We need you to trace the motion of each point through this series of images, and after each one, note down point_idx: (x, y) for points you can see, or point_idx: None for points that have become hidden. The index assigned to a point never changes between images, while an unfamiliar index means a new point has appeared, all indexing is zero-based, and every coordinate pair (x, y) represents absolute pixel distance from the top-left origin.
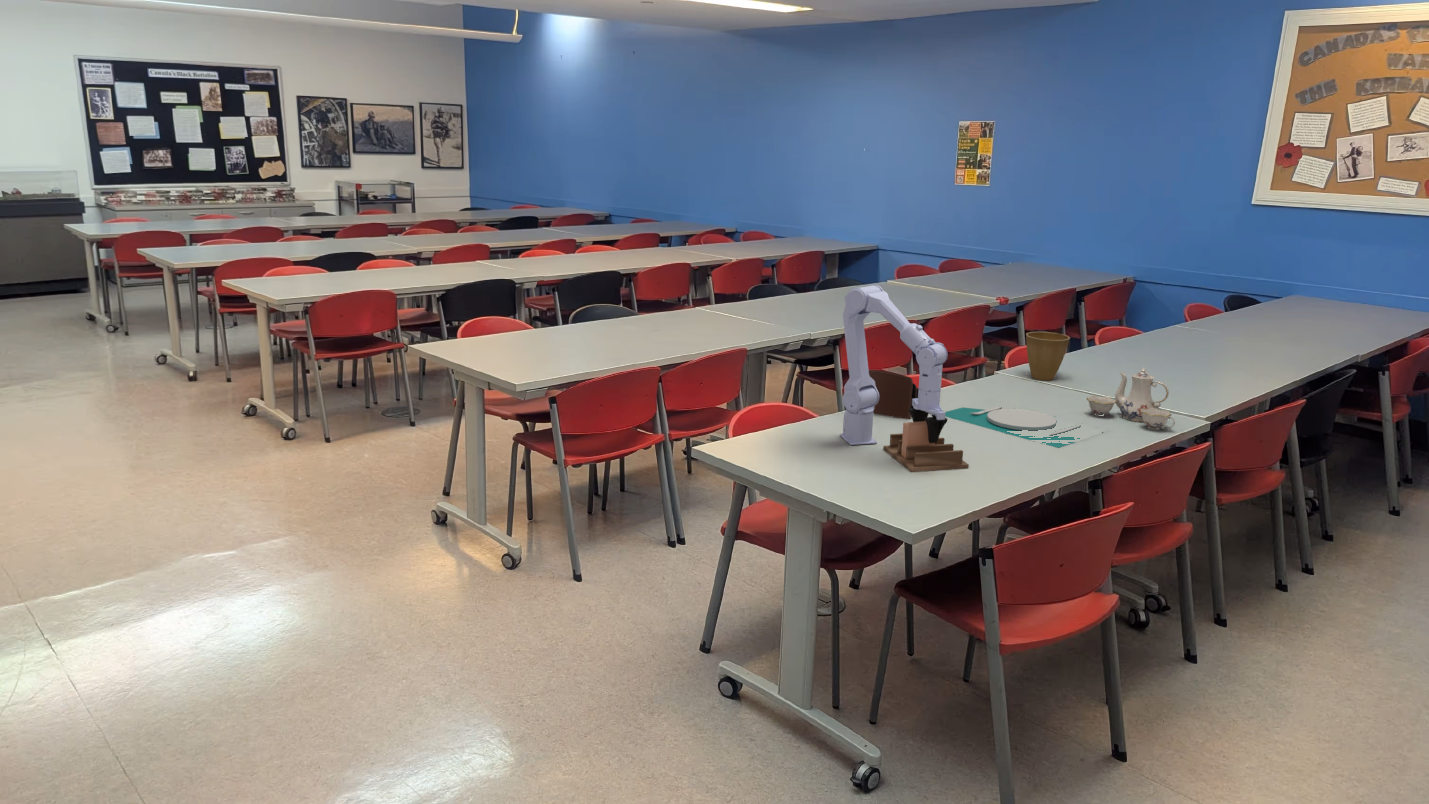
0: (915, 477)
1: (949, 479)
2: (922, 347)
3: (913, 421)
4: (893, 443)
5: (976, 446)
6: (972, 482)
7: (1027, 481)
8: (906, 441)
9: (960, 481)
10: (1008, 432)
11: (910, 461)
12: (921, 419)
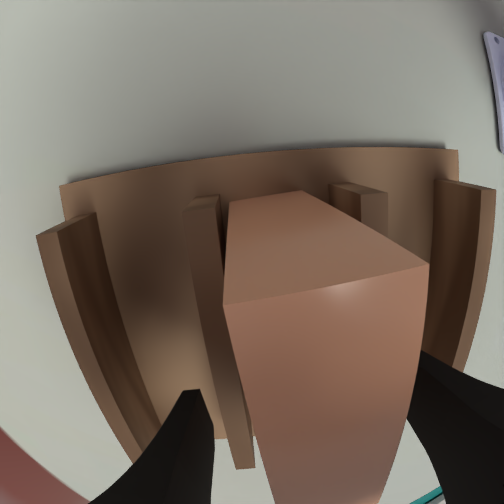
0: (11, 189)
1: (14, 323)
2: None
3: (476, 386)
4: (446, 196)
5: None
6: (14, 378)
7: (72, 479)
8: (247, 223)
9: (9, 349)
10: (417, 502)
11: (168, 211)
12: (450, 451)
